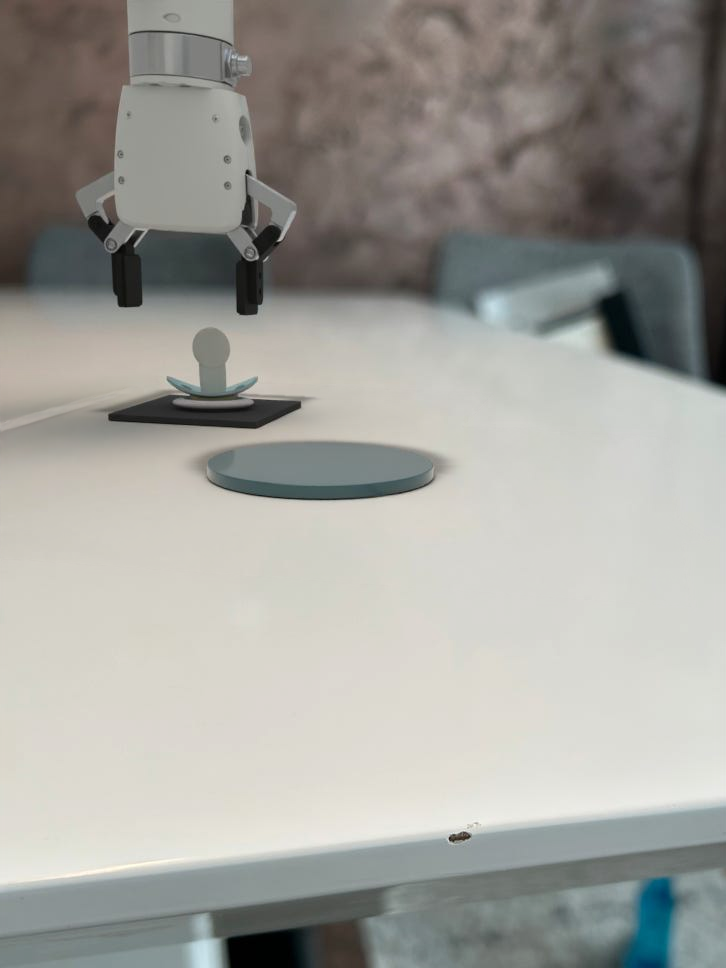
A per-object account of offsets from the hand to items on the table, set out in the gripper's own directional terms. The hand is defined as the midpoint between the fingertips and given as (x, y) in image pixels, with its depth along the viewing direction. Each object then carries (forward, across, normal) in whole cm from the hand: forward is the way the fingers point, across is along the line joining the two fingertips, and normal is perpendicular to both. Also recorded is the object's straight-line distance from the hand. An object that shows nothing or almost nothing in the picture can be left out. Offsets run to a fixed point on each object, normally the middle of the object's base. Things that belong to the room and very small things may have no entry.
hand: (188, 310), depth 87 cm
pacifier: (+8, -1, -2) cm, 8 cm away
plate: (+8, -16, +20) cm, 27 cm away
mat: (+8, -1, -2) cm, 8 cm away
